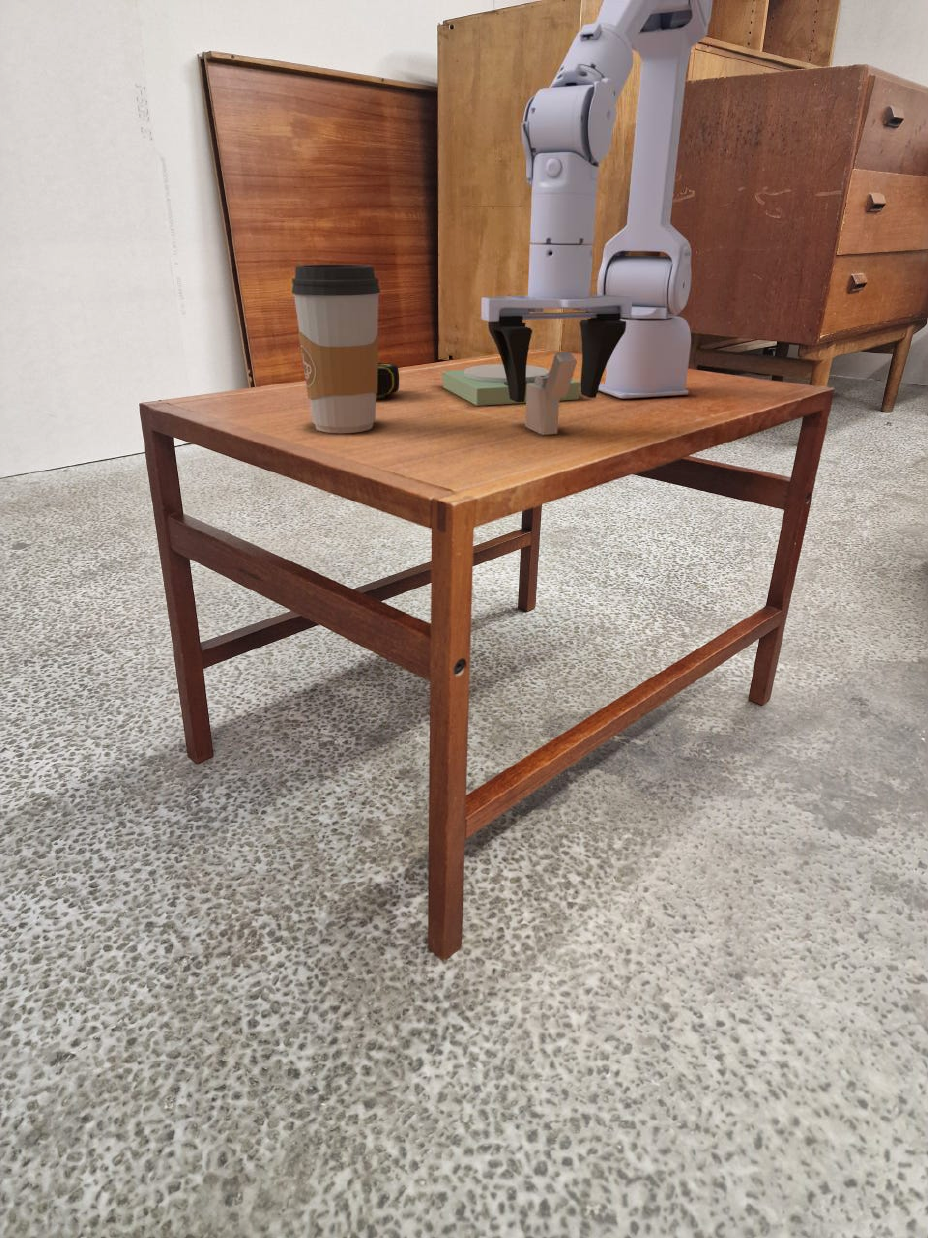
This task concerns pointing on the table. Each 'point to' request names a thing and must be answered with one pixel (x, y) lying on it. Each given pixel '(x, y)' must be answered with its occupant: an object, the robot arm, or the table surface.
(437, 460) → the table surface
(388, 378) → the tape measure
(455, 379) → the scale
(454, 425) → the table surface
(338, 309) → the coffee cup
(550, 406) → the lighter
